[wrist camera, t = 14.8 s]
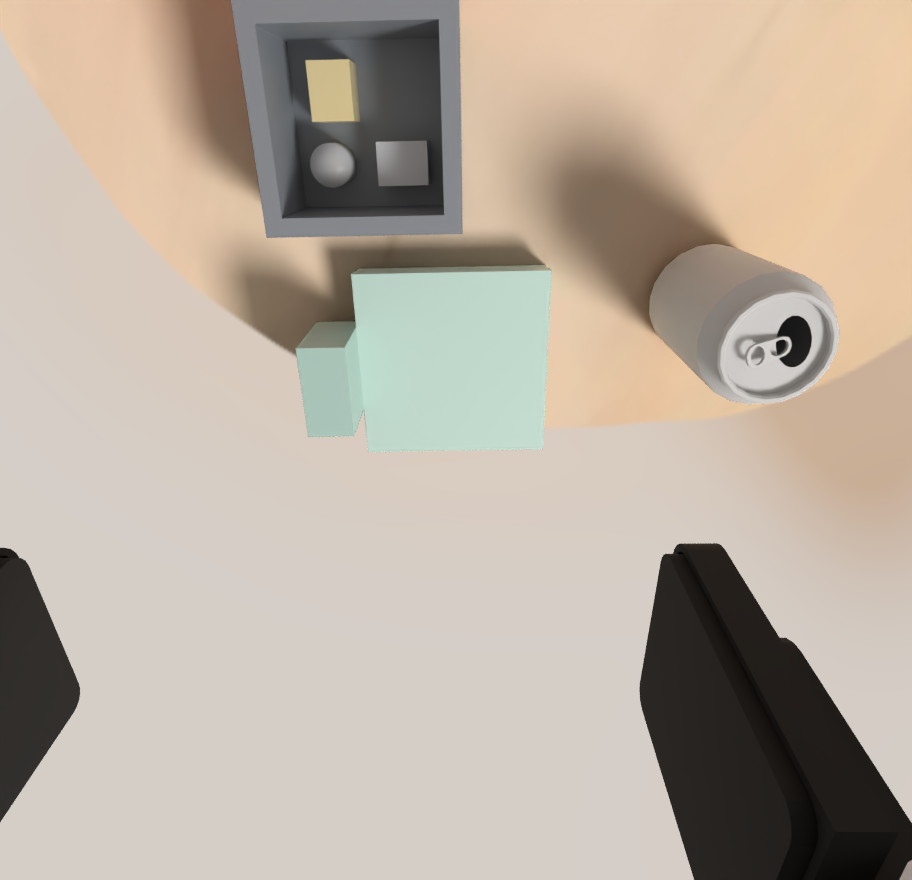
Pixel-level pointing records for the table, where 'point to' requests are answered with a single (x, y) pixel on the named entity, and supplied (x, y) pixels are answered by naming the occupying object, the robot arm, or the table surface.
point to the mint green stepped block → (433, 360)
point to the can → (744, 323)
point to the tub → (354, 114)
